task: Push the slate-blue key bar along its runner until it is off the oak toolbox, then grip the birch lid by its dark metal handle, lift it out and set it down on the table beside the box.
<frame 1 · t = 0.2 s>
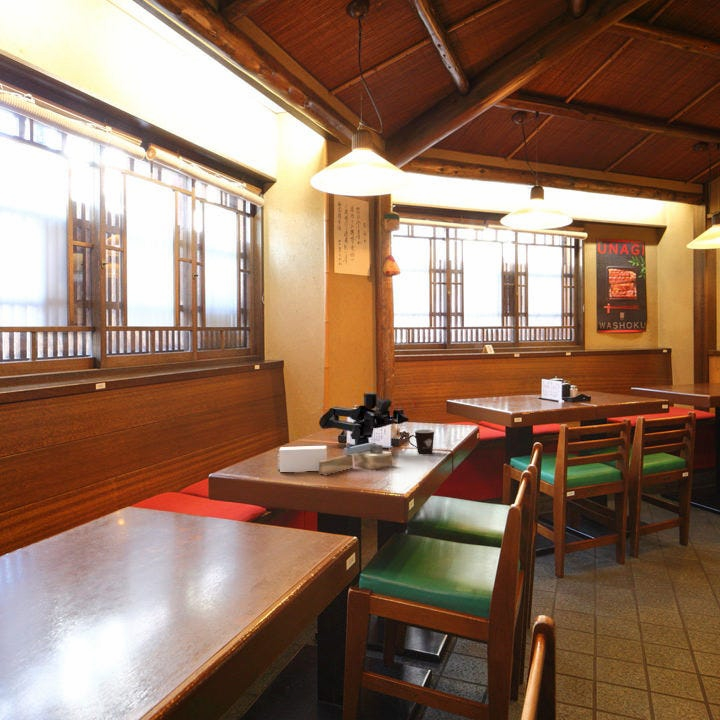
hand: (401, 420, 237), 17 cm above the table, tool horizontal, fingers open, 9 cm apart
lid: (373, 454, 227), point 4 cm above the table, touching toolbox
coffee mug: (421, 453, 248), on the table
toolbox: (373, 465, 228), on the table
white rectangular block: (302, 471, 223), on the table
runner: (336, 471, 220), on the table
key: (359, 446, 228), point 8 cm above the table, slide at 0.0 cm
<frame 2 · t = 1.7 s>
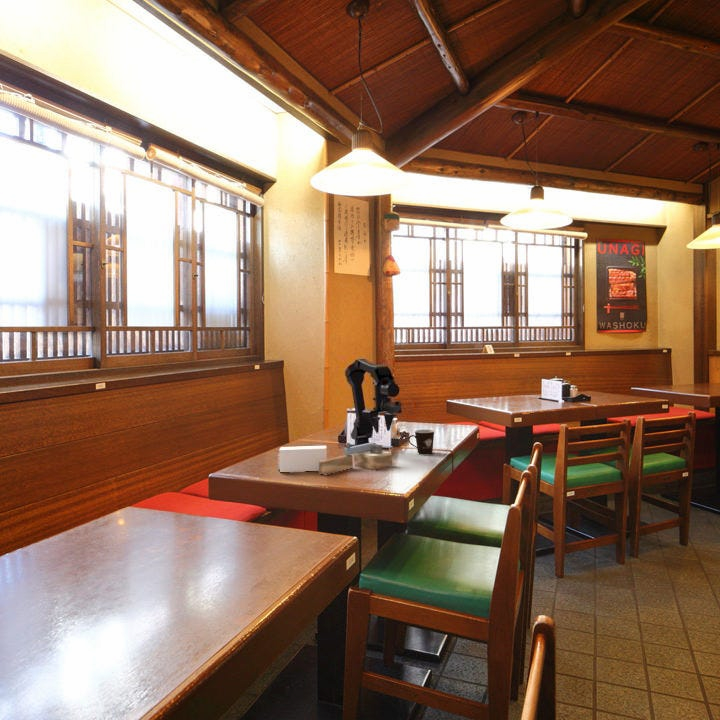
hand: (382, 431, 237), 12 cm above the table, tool pointing down, fingers open, 6 cm apart
nothing on the table moved.
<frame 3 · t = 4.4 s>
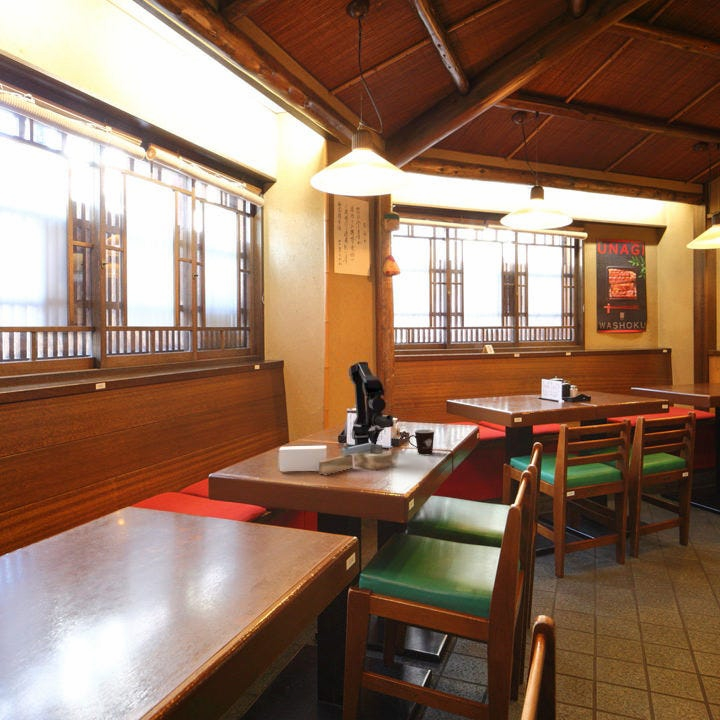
hand: (374, 445, 234), 7 cm above the table, tool pointing down, fingers closed
key: (358, 446, 228), point 8 cm above the table, slide at 1.0 cm, touching gripper
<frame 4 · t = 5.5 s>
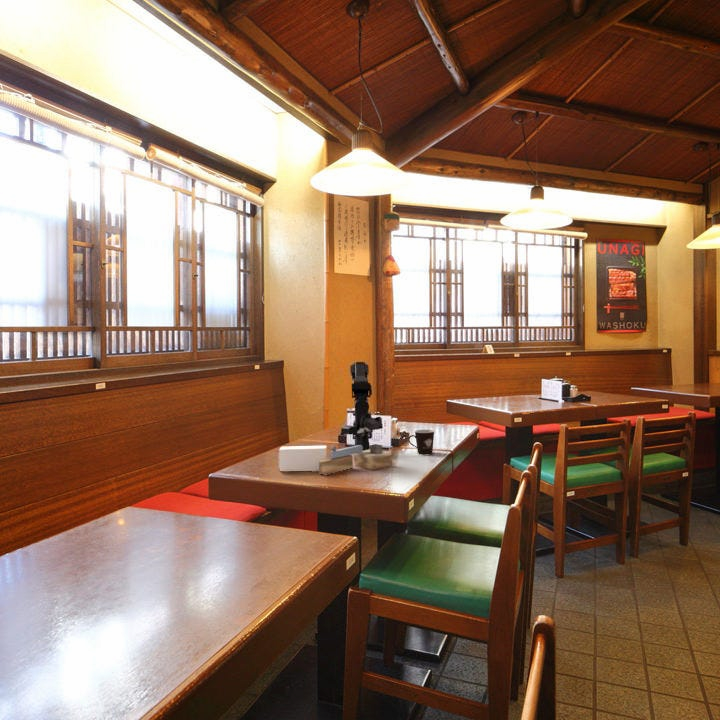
hand: (362, 448, 230), 7 cm above the table, tool pointing down, fingers closed
key: (346, 449, 223), point 8 cm above the table, slide at 7.4 cm, touching gripper
everything else where it was.
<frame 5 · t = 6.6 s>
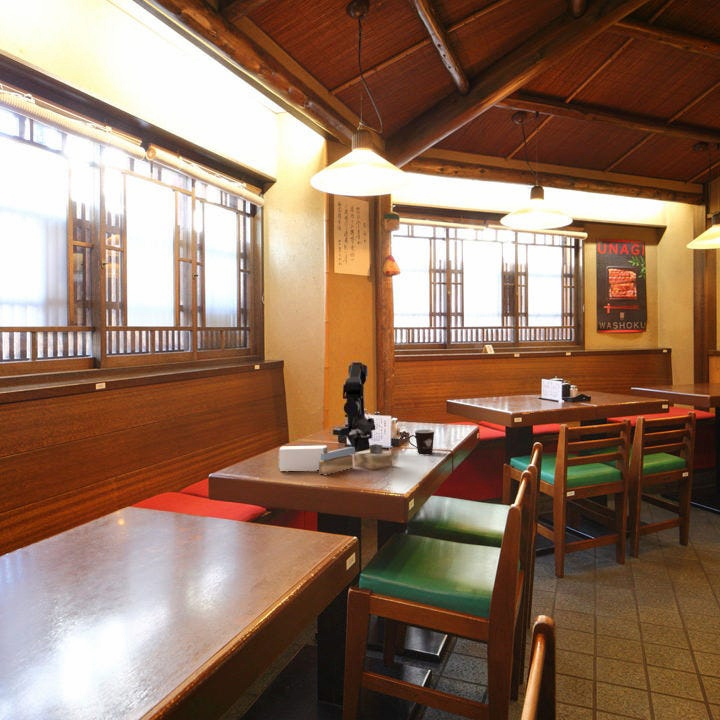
hand: (355, 449, 227), 7 cm above the table, tool pointing down, fingers closed
key: (338, 450, 221), point 8 cm above the table, slide at 11.7 cm, touching gripper
everything else where it was.
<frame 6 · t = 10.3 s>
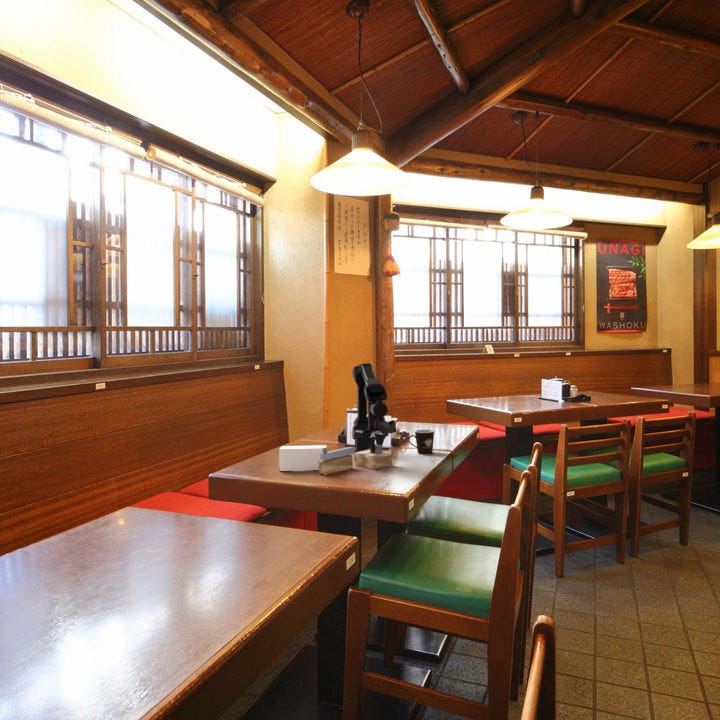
hand: (376, 452, 226), 6 cm above the table, tool pointing down, fingers closed on lid, 3 cm apart
lid: (373, 454, 227), point 4 cm above the table, touching gripper, toolbox
key: (337, 450, 220), point 8 cm above the table, slide at 12.0 cm
when the fingers open (3 cm above the table, at t = 14.5 s): lid drops 1 cm, on the table.
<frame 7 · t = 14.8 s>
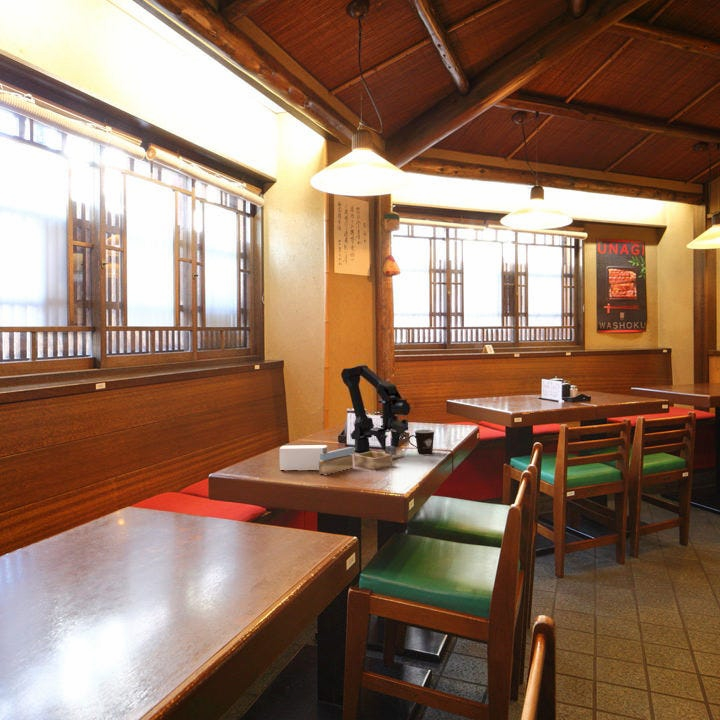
hand: (389, 449, 243), 3 cm above the table, tool pointing down, fingers open, 7 cm apart
lid: (387, 455, 244), on the table
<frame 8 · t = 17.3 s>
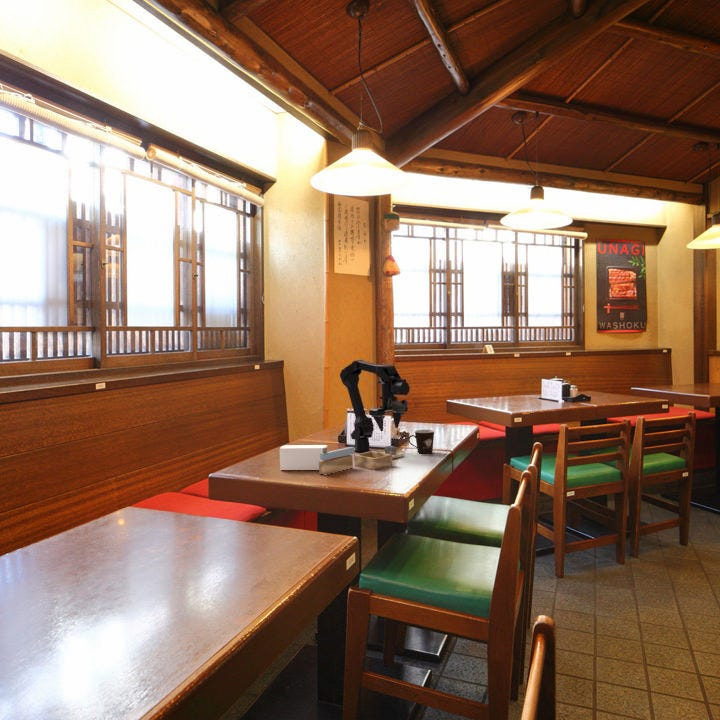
hand: (389, 429, 242), 12 cm above the table, tool pointing down, fingers open, 9 cm apart
at the end: key slide at 12.0 cm; lid inside the target area (0.3 cm from its centre), on the table; lid tilted 0° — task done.
